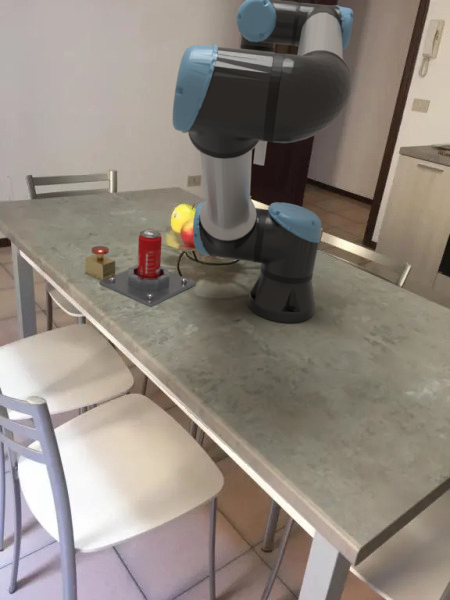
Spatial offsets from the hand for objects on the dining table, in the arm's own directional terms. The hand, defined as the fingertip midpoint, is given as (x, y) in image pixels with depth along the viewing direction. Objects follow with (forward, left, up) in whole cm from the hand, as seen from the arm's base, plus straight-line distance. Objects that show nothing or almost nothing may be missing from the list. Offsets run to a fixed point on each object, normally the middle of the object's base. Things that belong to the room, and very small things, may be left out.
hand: (244, 167), depth 125 cm
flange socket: (+9, +23, -27) cm, 36 cm away
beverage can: (+9, +23, -26) cm, 36 cm away
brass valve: (+21, +27, -27) cm, 43 cm away
